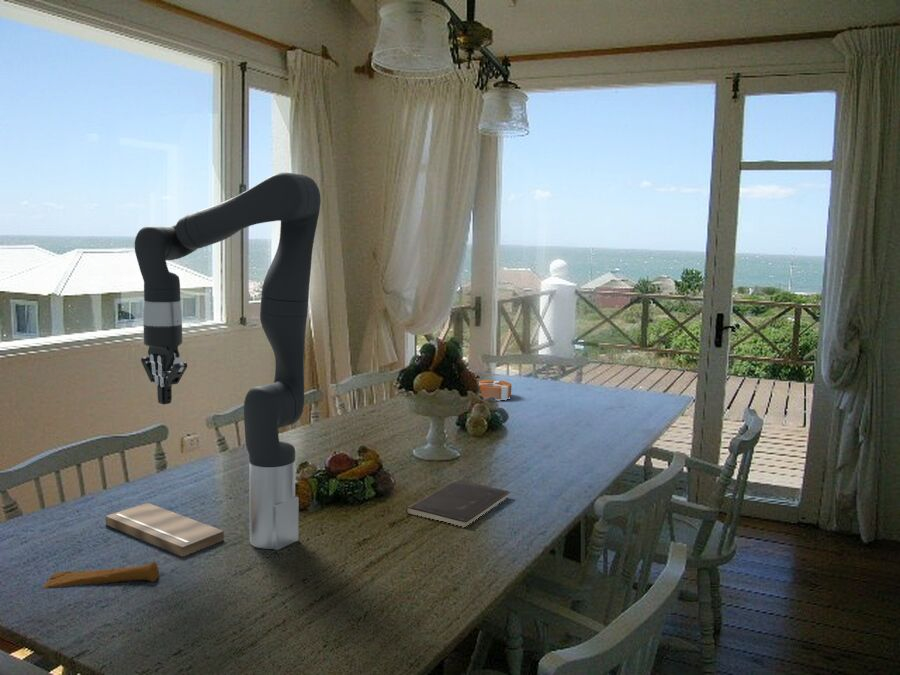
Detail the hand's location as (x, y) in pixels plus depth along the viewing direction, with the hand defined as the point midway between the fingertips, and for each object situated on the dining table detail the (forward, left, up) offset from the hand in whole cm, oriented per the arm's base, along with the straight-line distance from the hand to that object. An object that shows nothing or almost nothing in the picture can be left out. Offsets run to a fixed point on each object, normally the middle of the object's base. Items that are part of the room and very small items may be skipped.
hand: (164, 403), depth 153 cm
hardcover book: (-44, -49, -28) cm, 72 cm away
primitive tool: (-13, +23, -28) cm, 38 cm away
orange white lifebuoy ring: (+9, -159, -27) cm, 161 cm away
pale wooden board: (-3, +3, -27) cm, 27 cm away
